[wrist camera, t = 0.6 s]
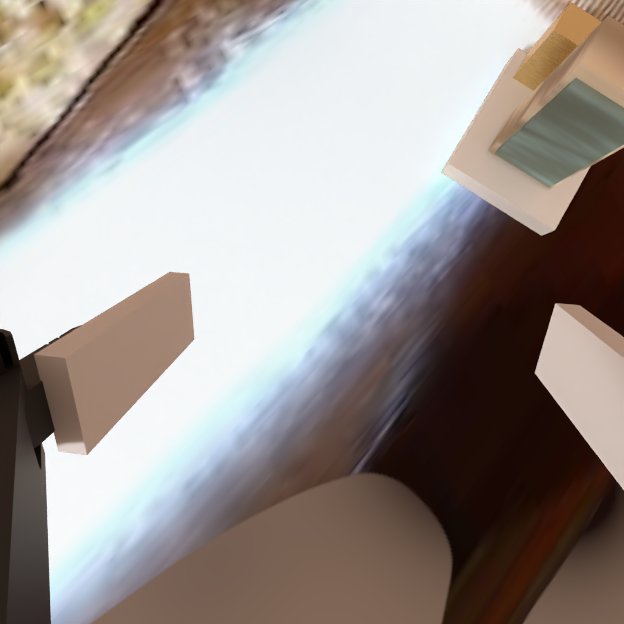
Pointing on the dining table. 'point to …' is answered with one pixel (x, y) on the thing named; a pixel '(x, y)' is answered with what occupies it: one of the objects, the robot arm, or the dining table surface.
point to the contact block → (555, 45)
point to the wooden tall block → (570, 112)
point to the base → (499, 174)
